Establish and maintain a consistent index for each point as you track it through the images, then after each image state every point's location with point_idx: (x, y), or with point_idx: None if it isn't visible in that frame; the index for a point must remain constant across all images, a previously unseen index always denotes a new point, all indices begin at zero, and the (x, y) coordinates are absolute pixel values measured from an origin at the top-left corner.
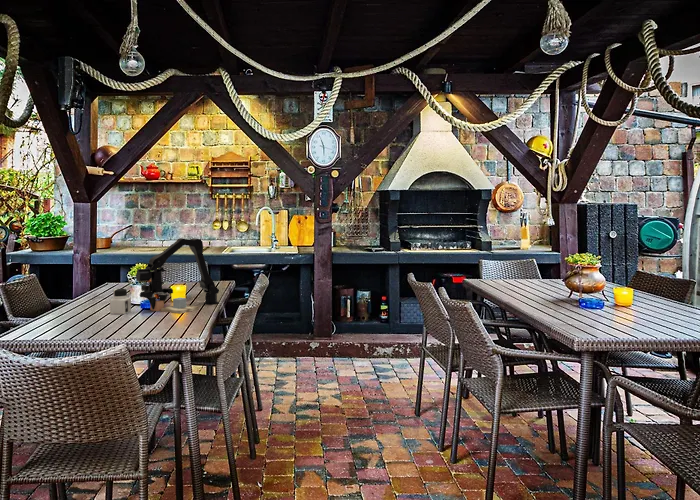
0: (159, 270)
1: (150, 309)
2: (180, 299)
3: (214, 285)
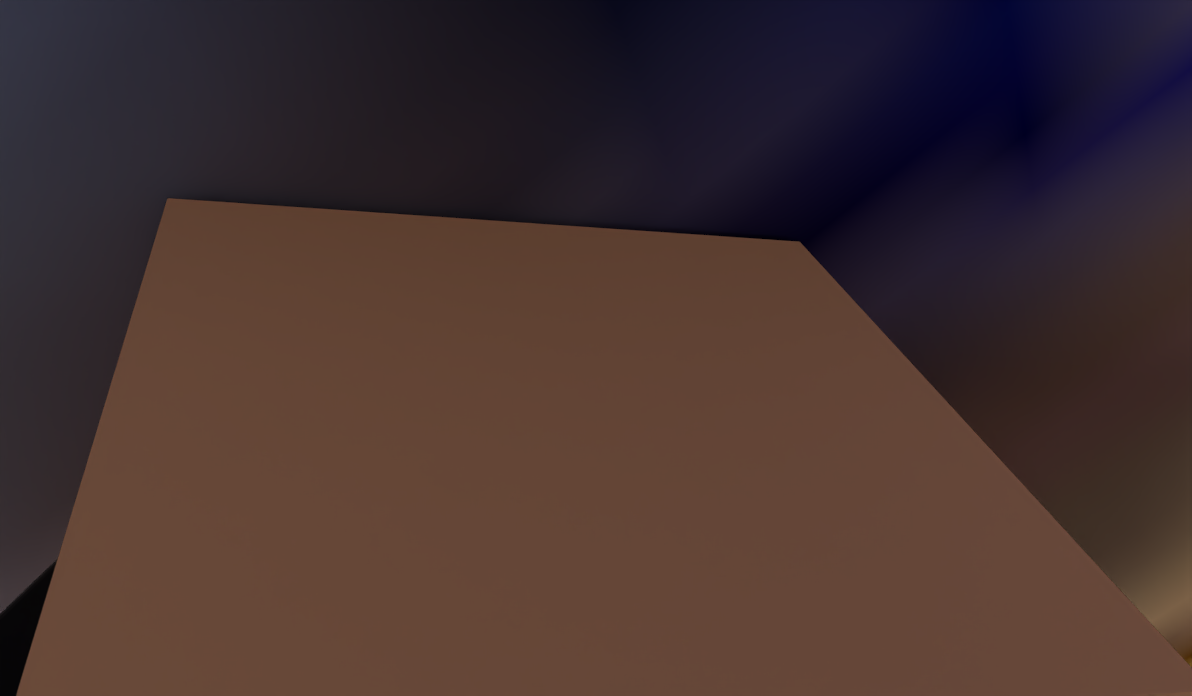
0: None
1: (164, 231)
2: None
3: None
